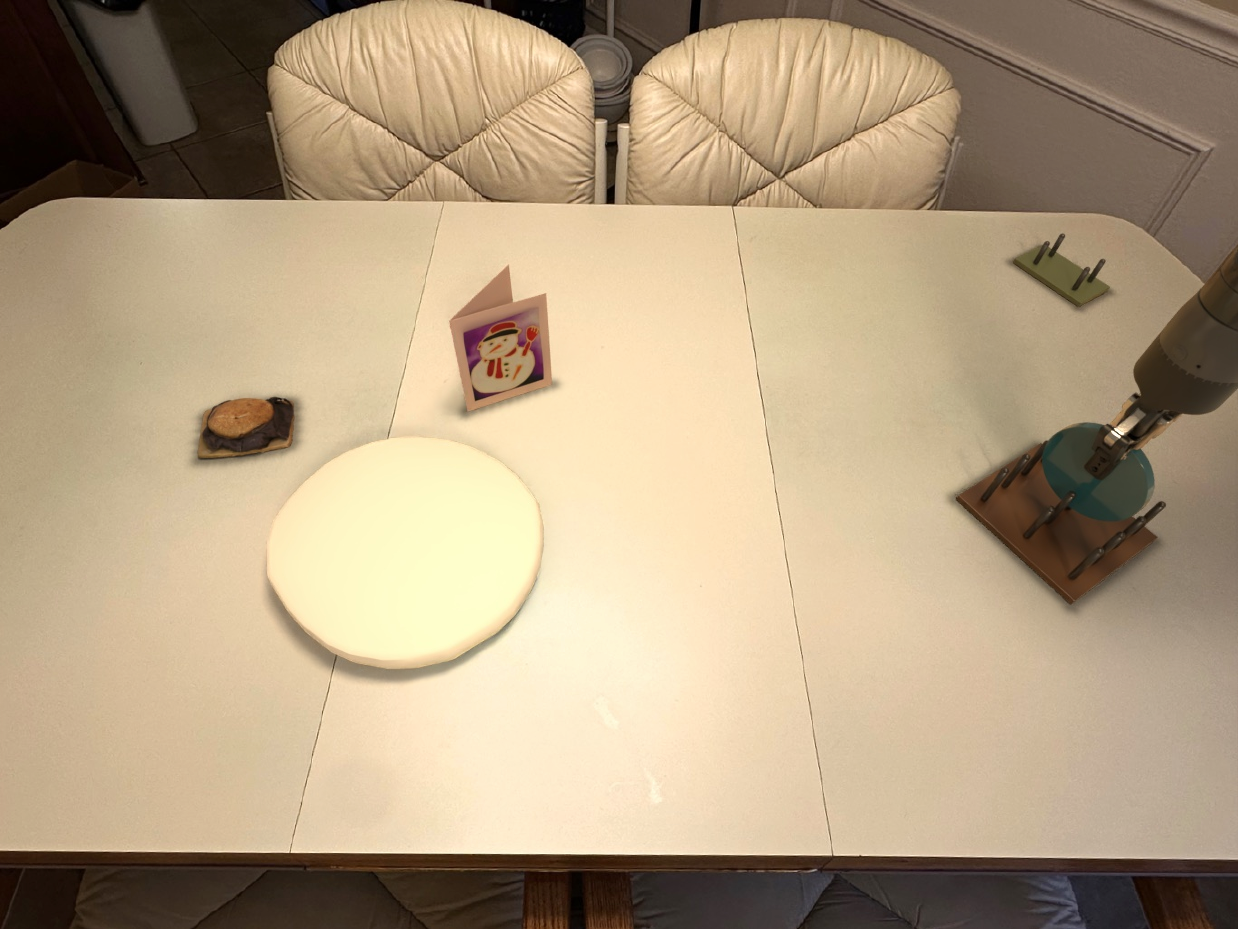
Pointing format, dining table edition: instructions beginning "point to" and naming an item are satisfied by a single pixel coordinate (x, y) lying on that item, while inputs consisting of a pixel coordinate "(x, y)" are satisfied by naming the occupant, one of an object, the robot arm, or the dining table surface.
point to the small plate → (1094, 497)
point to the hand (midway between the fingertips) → (1099, 469)
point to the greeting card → (501, 344)
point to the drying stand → (1062, 273)
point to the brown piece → (246, 427)
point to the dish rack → (1054, 527)
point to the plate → (406, 551)
